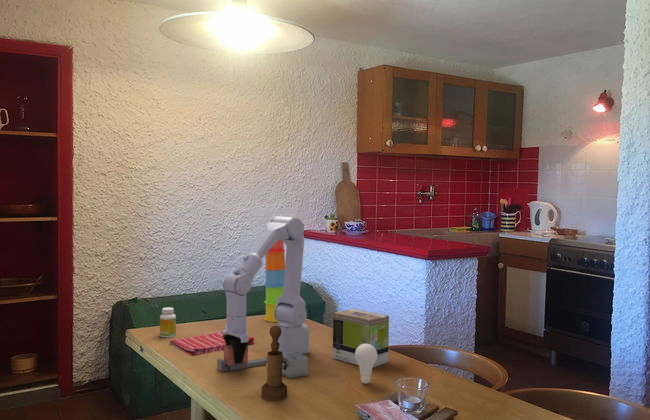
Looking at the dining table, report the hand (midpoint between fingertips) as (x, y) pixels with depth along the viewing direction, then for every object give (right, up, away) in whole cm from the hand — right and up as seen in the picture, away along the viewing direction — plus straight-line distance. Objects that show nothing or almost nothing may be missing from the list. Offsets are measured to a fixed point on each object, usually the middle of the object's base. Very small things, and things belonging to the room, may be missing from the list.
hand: (235, 360), depth 165 cm
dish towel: (-12, -2, +25) cm, 27 cm away
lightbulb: (+37, -4, -11) cm, 39 cm away
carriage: (0, -2, 0) cm, 2 cm away
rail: (+3, -2, +2) cm, 5 cm away
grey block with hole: (+17, -3, -4) cm, 18 cm away
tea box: (+37, -3, +10) cm, 38 cm away
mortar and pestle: (+13, -4, -21) cm, 25 cm away
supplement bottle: (-29, 0, +33) cm, 44 cm away
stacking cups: (+7, 0, +60) cm, 61 cm away
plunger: (+13, -1, -7) cm, 14 cm away
